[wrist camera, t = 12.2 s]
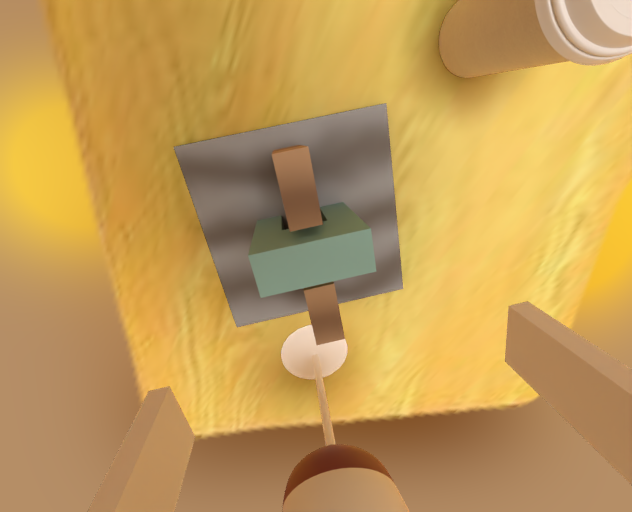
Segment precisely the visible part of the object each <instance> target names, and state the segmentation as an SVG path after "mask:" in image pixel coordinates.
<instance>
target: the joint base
mask: <svg viewBox="0 0 632 512" xmlns="http://www.w3.org/2000/svg"><path fill="white" fill-rule="evenodd" d="M174 150H175V153H176V156H177V158H178V161H179V164H180V167H181V170H182V173H183V175H184V178H185V181H186V184H187V187H188V190H189V193H190V195H191V198H192V201H193V204H194V207H195V210H196V212H197V215H198V218H199V221H200V224H201V227H202V229H203V232H204V235H205V238H206V241H207V244H208V247H209V249H210V252H211V255H212V258H213V261H214V264H215V266H216V269H217V272H218V275H219V278H220V281H221V283H222V286H223V289H224V292H225V295H226V298H227V301H228V303H229V306H230V309H231V312H232V315H233V318H234V320H235V323H236V326H237V327H240V326H245V325H249V324H253V323H258V322H262V321H266V320H270V319H275V318H279V317H283V316H288V315H292V314H296V313H301V312H305V311H309V315H310V319H311V323H312V328H313V332H314V336H315V340H316V345H321V344H325V343H329V342H334V341H338V340H342V339H345V338H344V332H343V327H342V322H341V317H340V311H339V306H338V304H339V303H344V302H348V301H352V300H357V299H361V298H365V297H370V296H374V295H378V294H382V293H387V292H391V291H395V290H400V289H403V282H402V271H401V260H400V249H399V238H398V227H397V216H396V205H395V194H394V183H393V172H392V161H391V150H390V139H389V128H388V117H387V106H386V103H385V104H380V105H375V106H370V107H366V108H361V109H356V110H351V111H346V112H341V113H336V114H332V115H327V116H322V117H317V118H312V119H307V120H302V121H297V122H293V123H288V124H283V125H278V126H273V127H268V128H263V129H258V130H254V131H249V132H244V133H239V134H234V135H229V136H224V137H220V138H215V139H210V140H205V141H200V142H195V143H190V144H185V145H181V146H176V147H174ZM340 202H344V203H345V204H346V205H347V206H348V207H349V208H350V209H351V210H352V211H353V212H354V213H355V214H356V215H357V216H358V217H359V218H361V219H362V220H363V221H364V222H365V223H366V224H367V225H368V226H369V227H370V228H371V232H372V240H373V248H374V256H375V264H376V272H372V273H368V274H363V275H359V276H354V277H350V278H346V279H341V280H337V281H333V282H328V283H324V284H319V285H315V286H311V287H306V288H302V289H298V290H293V291H289V292H285V293H280V294H276V295H271V296H267V297H263V298H261V297H260V294H259V290H258V287H257V284H256V280H255V277H254V274H253V270H252V267H251V264H250V260H249V257H248V254H249V250H250V246H251V242H252V238H253V234H254V231H255V227H256V223H257V221H258V220H262V219H267V218H271V217H276V216H280V215H281V217H282V221H283V225H284V229H285V230H286V229H289V230H290V232H291V231H296V230H300V229H305V228H309V227H314V226H318V225H323V222H322V216H321V211H320V207H322V206H326V205H331V204H336V203H340Z"/></svg>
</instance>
